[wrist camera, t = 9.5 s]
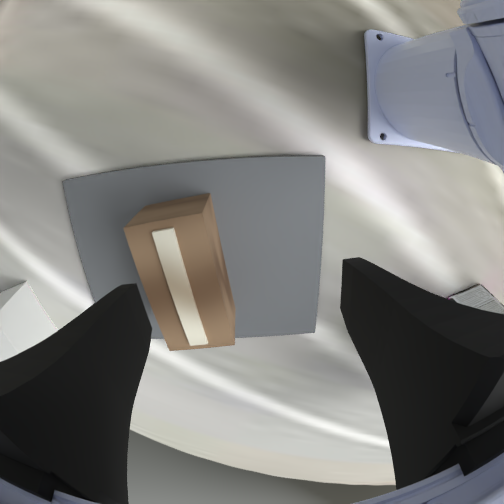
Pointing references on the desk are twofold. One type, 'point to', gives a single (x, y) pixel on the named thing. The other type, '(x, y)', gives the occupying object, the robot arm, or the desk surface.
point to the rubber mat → (229, 227)
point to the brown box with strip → (184, 272)
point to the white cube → (22, 321)
